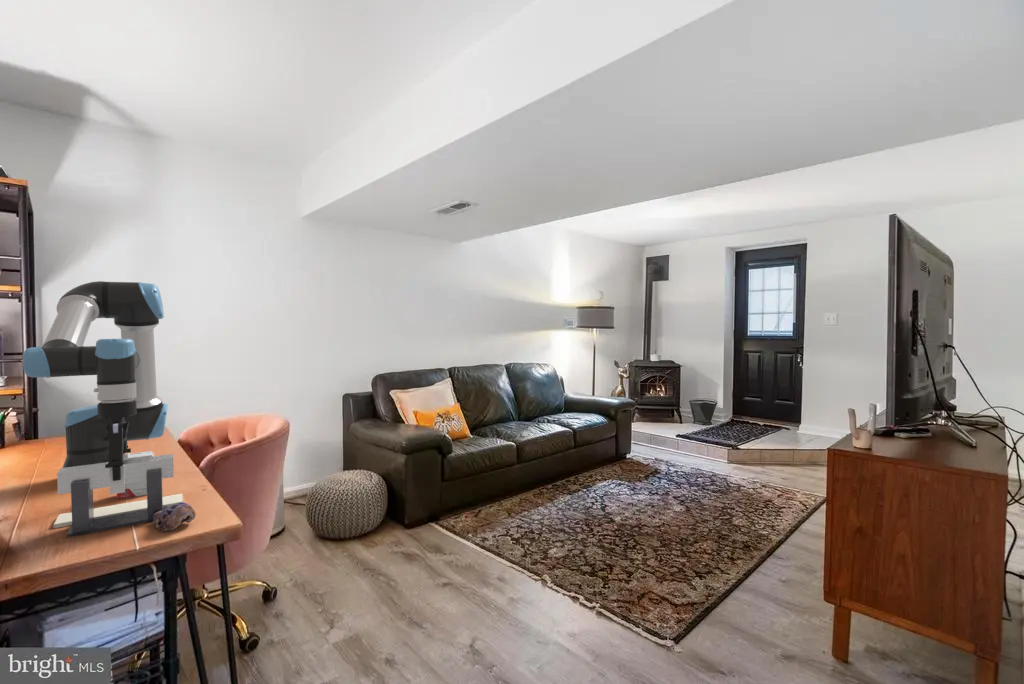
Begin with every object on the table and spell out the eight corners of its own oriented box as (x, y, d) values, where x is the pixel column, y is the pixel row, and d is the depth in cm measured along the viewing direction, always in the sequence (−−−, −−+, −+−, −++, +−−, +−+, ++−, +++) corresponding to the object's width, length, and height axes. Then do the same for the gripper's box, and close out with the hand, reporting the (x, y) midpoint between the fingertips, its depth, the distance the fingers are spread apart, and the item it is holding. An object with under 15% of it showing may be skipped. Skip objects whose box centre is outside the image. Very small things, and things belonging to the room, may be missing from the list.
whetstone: (61, 488, 116) (61, 468, 116) (173, 472, 128) (172, 453, 128) (57, 494, 112) (57, 473, 111) (173, 477, 124) (173, 457, 124)
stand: (72, 526, 118) (70, 475, 118) (167, 508, 129) (166, 462, 129) (66, 537, 111) (64, 484, 111) (167, 518, 122) (166, 469, 122)
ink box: (116, 499, 137) (115, 458, 136) (118, 494, 141) (117, 454, 140) (153, 493, 141) (152, 454, 141) (154, 489, 145) (153, 450, 145)
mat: (59, 518, 123) (59, 514, 123) (182, 496, 138) (182, 493, 138) (53, 528, 117) (53, 524, 117) (183, 505, 132) (183, 501, 132)
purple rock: (144, 526, 118) (143, 501, 118) (179, 516, 125) (178, 492, 125) (165, 537, 112) (165, 511, 112) (201, 526, 118) (201, 501, 118)
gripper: (102, 396, 127) (105, 476, 128) (90, 408, 107) (93, 503, 108) (138, 394, 132) (140, 471, 132) (133, 405, 112) (136, 496, 112)
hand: (119, 486), depth 120 cm, fingers open, 12 cm apart
